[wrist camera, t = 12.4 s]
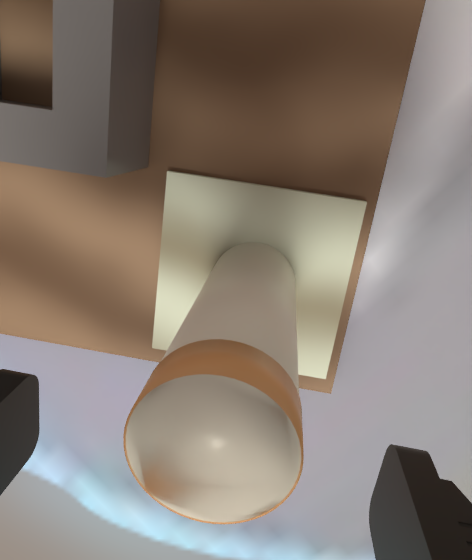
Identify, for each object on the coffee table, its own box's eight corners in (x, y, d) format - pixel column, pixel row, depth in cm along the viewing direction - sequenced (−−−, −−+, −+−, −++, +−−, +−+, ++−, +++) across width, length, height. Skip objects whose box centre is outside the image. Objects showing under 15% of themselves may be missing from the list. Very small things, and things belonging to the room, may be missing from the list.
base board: (-38, -104, 19) (-72, -127, 18) (429, -49, 18) (444, -68, 16) (-17, 316, 26) (-39, 330, 24) (328, 378, 25) (331, 397, 23)
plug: (215, 235, 21) (127, 357, 10) (303, 248, 21) (319, 390, 9) (206, 315, 22) (119, 505, 11) (288, 328, 22) (286, 538, 11)
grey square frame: (-50, -91, 18) (-169, -168, 14) (164, -65, 18) (119, -136, 13) (-37, 138, 21) (-130, 140, 17) (148, 167, 21) (106, 177, 16)
